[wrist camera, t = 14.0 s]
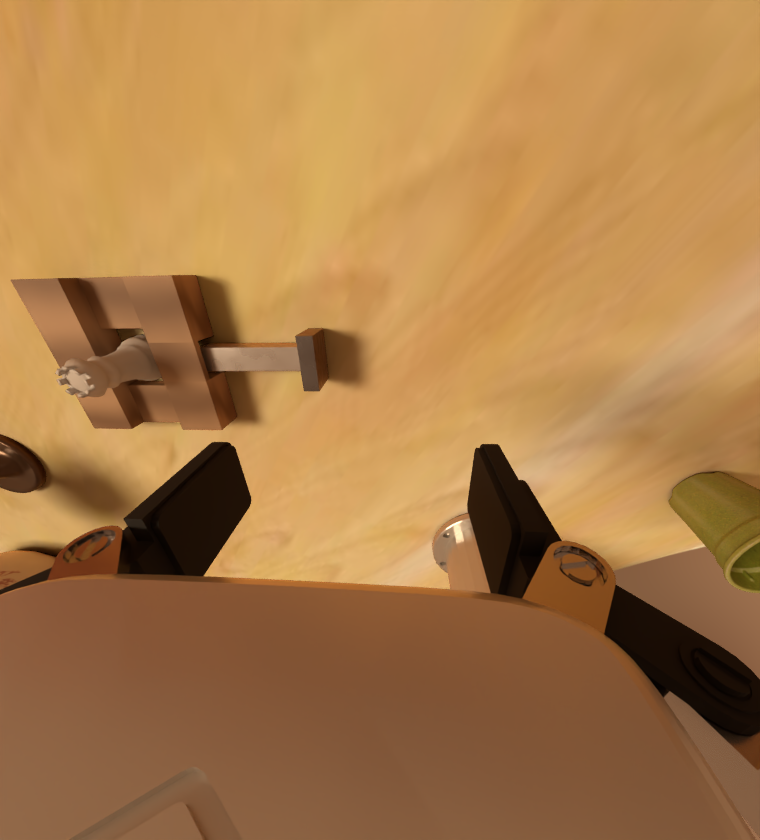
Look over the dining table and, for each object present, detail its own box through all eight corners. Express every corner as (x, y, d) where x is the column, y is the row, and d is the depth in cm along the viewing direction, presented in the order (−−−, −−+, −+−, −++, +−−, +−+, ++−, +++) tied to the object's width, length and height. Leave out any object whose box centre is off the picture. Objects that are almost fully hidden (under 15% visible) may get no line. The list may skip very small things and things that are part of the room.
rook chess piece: (148, 324, 27) (58, 341, 20) (185, 361, 29) (114, 390, 21) (123, 350, 28) (31, 374, 21) (160, 384, 30) (85, 418, 23)
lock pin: (328, 377, 28) (319, 391, 25) (219, 377, 29) (197, 390, 26) (323, 328, 26) (312, 335, 23) (205, 329, 27) (178, 337, 23)
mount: (237, 416, 31) (221, 430, 28) (119, 415, 32) (94, 428, 29) (196, 275, 25) (171, 275, 22) (50, 279, 26) (10, 279, 23)
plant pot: (768, 483, 31) (891, 554, 23) (683, 532, 35) (764, 606, 27) (716, 443, 29) (830, 504, 21) (633, 499, 33) (703, 568, 25)
